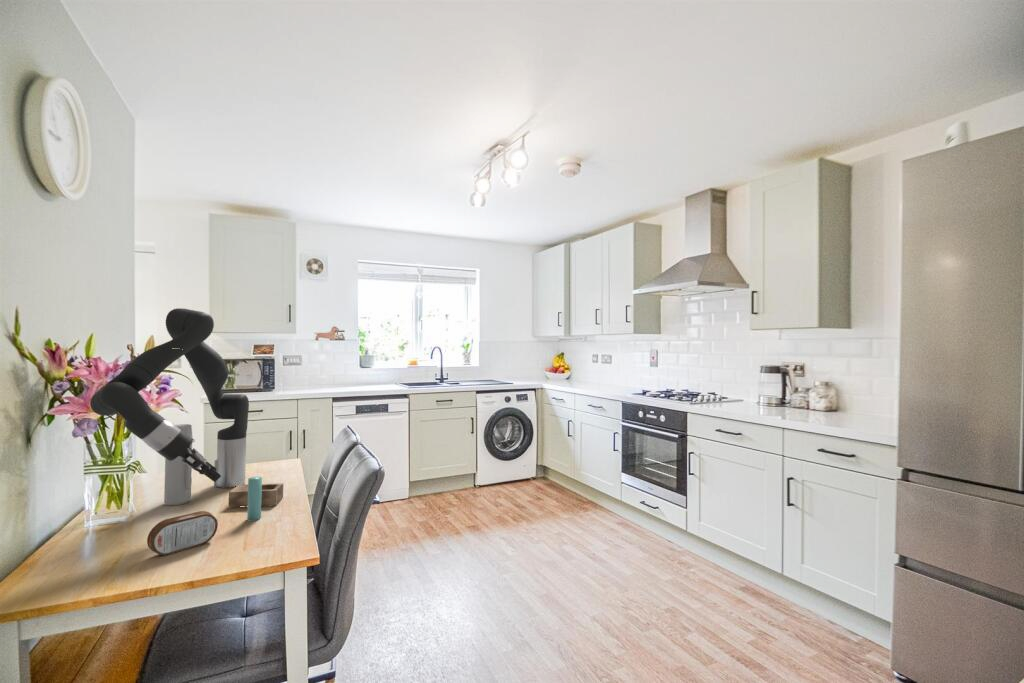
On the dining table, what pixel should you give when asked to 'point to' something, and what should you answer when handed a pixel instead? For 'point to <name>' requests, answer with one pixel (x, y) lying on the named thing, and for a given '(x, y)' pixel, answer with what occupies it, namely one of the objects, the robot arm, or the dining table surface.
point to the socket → (269, 497)
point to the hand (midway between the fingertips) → (216, 475)
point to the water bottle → (178, 476)
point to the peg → (254, 498)
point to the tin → (182, 532)
